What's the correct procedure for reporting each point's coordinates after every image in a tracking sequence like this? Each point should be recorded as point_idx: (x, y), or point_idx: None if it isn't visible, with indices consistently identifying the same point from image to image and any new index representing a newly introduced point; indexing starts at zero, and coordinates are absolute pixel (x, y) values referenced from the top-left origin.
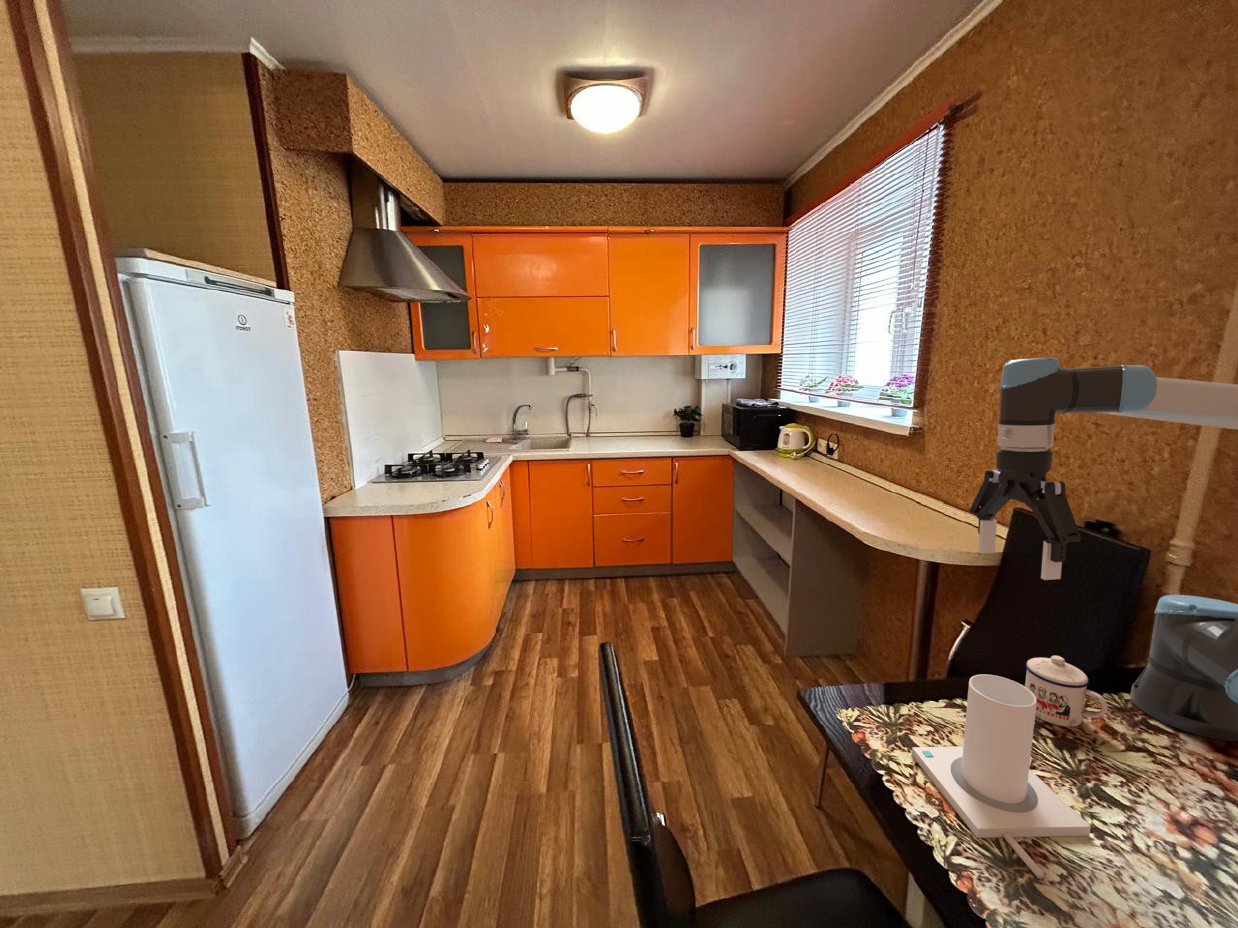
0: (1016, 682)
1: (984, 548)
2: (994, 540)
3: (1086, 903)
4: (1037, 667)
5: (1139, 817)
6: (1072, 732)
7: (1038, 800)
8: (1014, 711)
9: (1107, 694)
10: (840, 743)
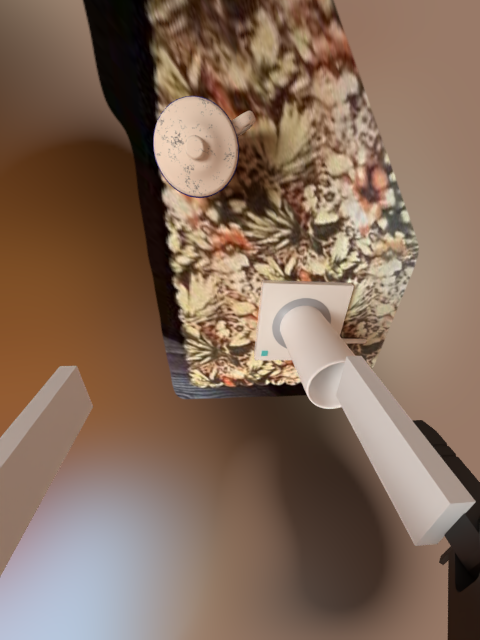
0: (331, 364)
1: (79, 414)
2: (47, 413)
3: (381, 326)
4: (193, 186)
5: (350, 223)
6: (240, 168)
7: (324, 303)
8: None
9: None
10: (235, 395)
